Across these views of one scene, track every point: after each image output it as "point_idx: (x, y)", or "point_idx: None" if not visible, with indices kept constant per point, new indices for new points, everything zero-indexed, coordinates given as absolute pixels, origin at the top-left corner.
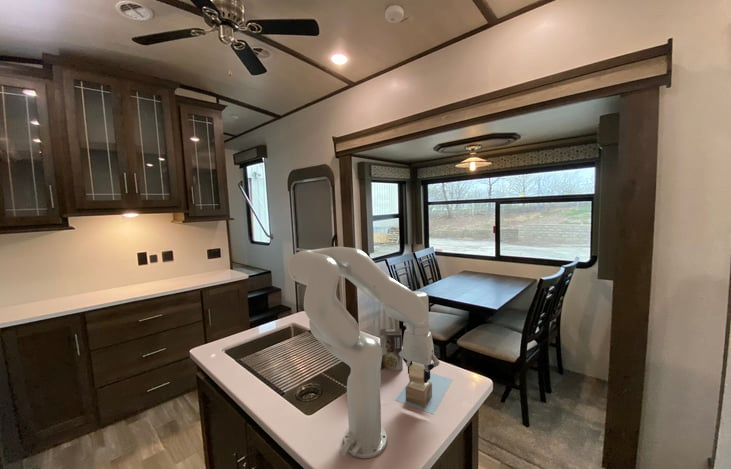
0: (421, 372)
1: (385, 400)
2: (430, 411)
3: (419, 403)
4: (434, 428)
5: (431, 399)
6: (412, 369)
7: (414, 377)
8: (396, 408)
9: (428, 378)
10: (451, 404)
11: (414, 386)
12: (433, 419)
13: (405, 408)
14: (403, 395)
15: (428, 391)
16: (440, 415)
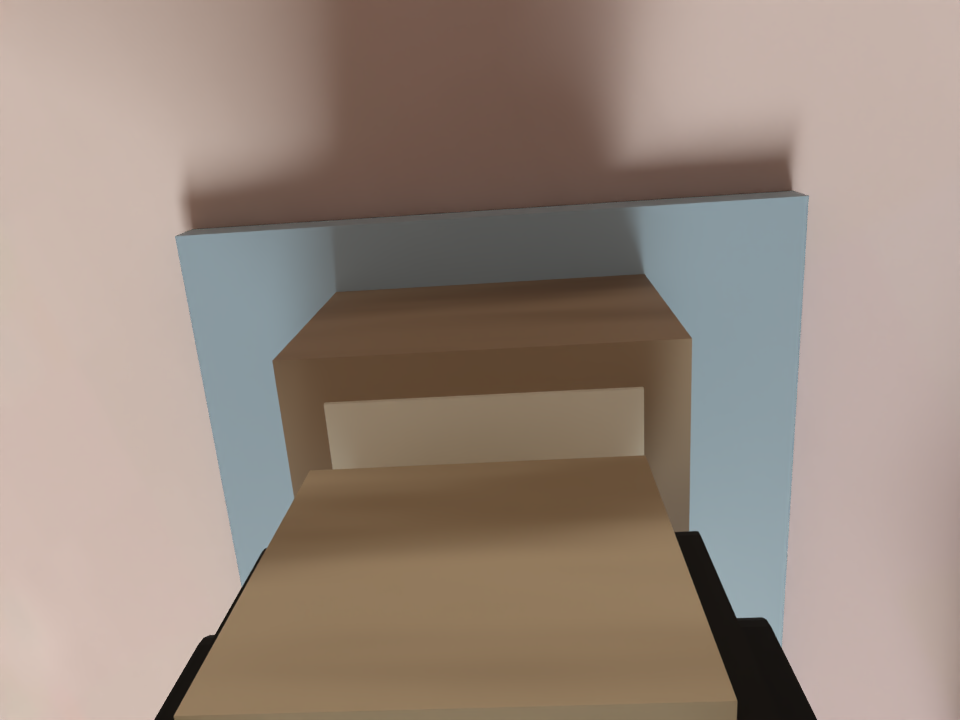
0: (249, 673)
1: (950, 156)
2: (239, 266)
3: (414, 294)
4: (80, 38)
5: None
6: (588, 671)
7: (516, 526)
8: (716, 91)
9: (201, 654)
10: (140, 558)
11: (537, 446)
12: (176, 191)
13: (597, 170)
14: (727, 362)
15: None
16: (145, 311)
